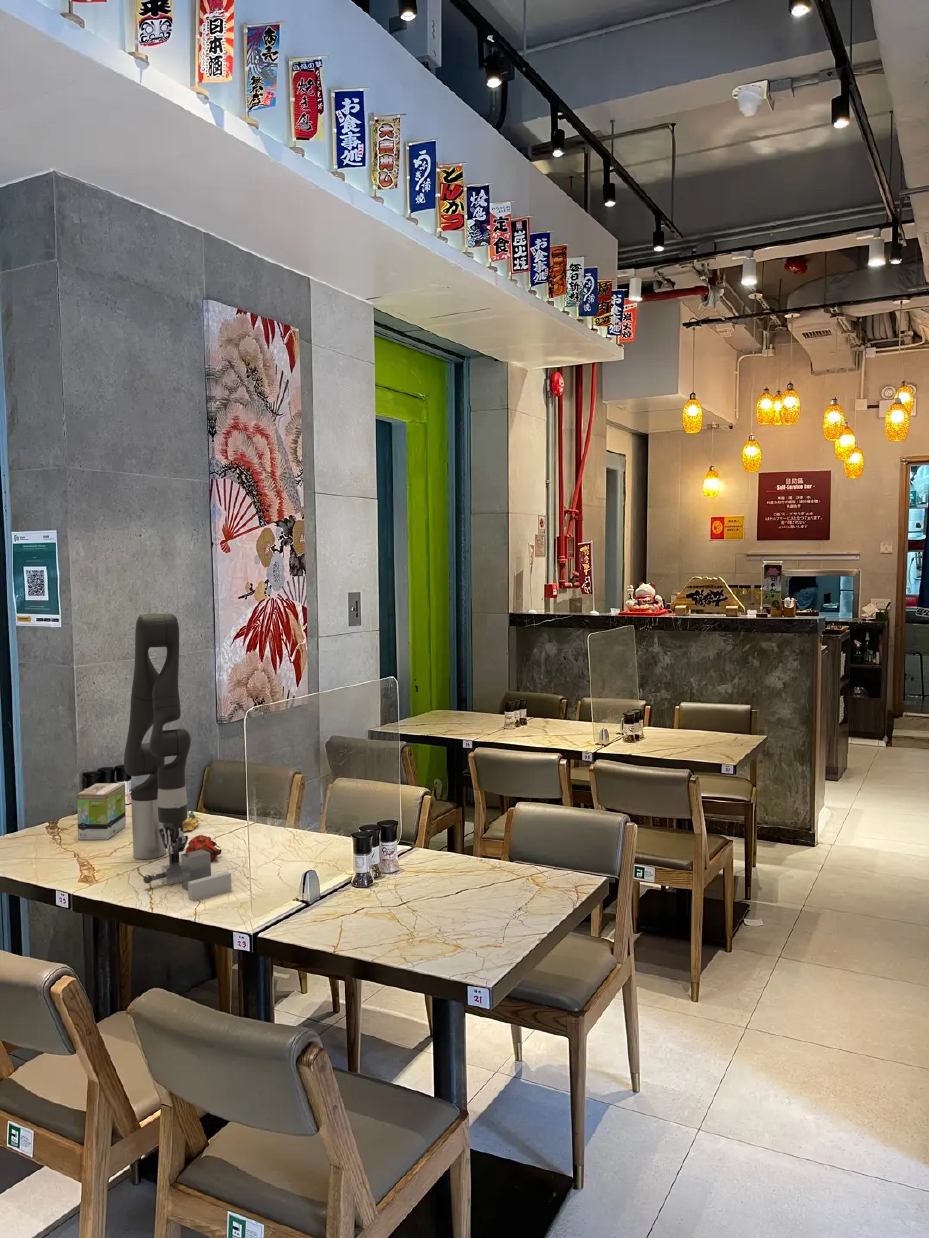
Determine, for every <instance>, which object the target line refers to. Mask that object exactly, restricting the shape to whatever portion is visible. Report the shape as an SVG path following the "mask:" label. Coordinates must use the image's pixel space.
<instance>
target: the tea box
mask: <svg viewBox="0 0 929 1238" xmlns="http://www.w3.org/2000/svg"><path fill="white" fill-rule="evenodd" d="M76 796H77V797H76V799H77V803H76V804H77V808H76V809H77V840H81V841H82V840H84V841H86V840H87V841H90V840H91V841H94V840H95V841H97V840H102V841H105V840H109V839H110V838H111V837H112V836H114V835H115V834H117V833H118V832H120V831H121V830H122V829H124V828H126V826H127V818H126V810H127V809H126V784H125V783H123V782H122V783H121V782H116V783H115V782H113V783H112V782H108V783H107V782H103V783H101V782H100V783H99V782H98V783H97V782H96V783H94V784H93V785H91V786H89V787H87V788H85V789H83V790H82V791H81V792H78V793H77V795H76Z"/></svg>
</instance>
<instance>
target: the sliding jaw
mask: <svg viewBox="0 0 929 1238" xmlns="http://www.w3.org/2000/svg"><path fill="white" fill-rule="evenodd" d="M160 868H161V869H160V871H161V872H160V873H159V872H158V873H156V874H151V875H150V874H146V875H145V876H143V882H144V884H146V885H147V884H150V883H152V882H153V881H156V880H161V883H162V884H163V885H164V886H170V885H174V884H179V883H182V869H181V861H179V862H177V863H173V864H169V863H168V864H165V865H162V866H161V867H160Z"/></svg>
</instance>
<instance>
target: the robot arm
mask: <svg viewBox="0 0 929 1238" xmlns="http://www.w3.org/2000/svg"><path fill="white" fill-rule="evenodd" d="M134 633H135V635H134V638H135V639H134V668H133V678H132V686H131V692H130V693H131V695H130V696H131V697H130V710H129V711H130V712H129V713H130V714H129V725H128V726H129V727H128V732H127V738H126V743H125V748H124V753H123V754H124V757H123V767H124V771H125V773H126V774H127V776H129V777H140V776H141V777H142V776H148V775H149V776H148V777H147V778H146V779H145V780H144V781H143V782H141V783H140V784H138V785H136V786H134V787H133V788H131V791H130V801H131V803H130V804H131V824H132V829H131V830H132V831H131V832H132V853H133V858H135V859H136V860H137V859H138V860H152V859H156V858H159V857H163V856H165V855H166V854H167V853H168V861H169V863H168V865H169V864H173V863H177V862H180V853H183V852H184V851H185V849H186V847H187V846H186V845H187V843H188V842H189V836H188V835H185V834H184V832H183V830H184V829H183V824H182V823H183V821H185V820H186V819H188V818H187V817H188V815H187V813H188V811H187V810H188V809H187V802H188V798H187V797H188V796H187V789H186V788H187V787H186V766H187V760H188V755H189V752H190V748H191V744H192V743H191V742H192V738H191V735H190V733H189V731H187V730H186V729H185V728H176V729H175V728H174V729H165V730H164V726H165V725H167V724H168V723H173V722H175V721H178V720H180V719H181V716H182V712H181V702H180V691H179V669H180V668H179V666H180V625H179V621H178V618H177V617H176V615H175V614H172V613H147V614H140V615H139V616H137V619H136V623H135V631H134ZM151 648H166V656H165V661H164V664H163V665H162V668H161V670H160V671H159V672H158V671H157V668H156V667H155V666H154V664H153V662H152V660H151V659H150V656H149V649H151ZM151 728H152V730H151V734H150V739H149V742H144V743H143V740H144V738H145V736H146V734H147V733H148V731H149V730H150V729H151ZM166 757H174V760H172V761H171V762H169V763H165V762H166V761H165V759H166Z"/></svg>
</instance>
